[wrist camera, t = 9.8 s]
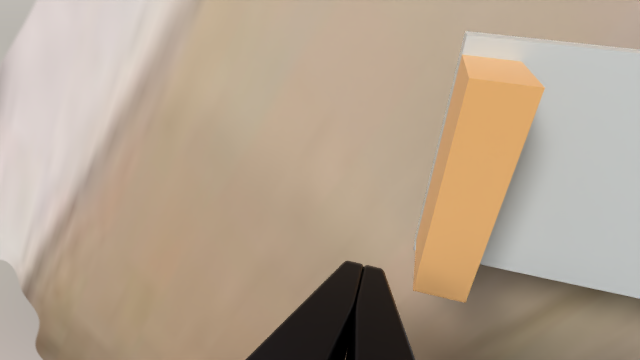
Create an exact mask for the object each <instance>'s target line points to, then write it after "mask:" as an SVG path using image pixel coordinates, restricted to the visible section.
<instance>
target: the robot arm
mask: <svg viewBox="0 0 640 360" xmlns="http://www.w3.org/2000/svg"><path fill="white" fill-rule="evenodd" d="M363 268H364V269H363ZM347 348H348V349H347ZM346 353H347V354H346ZM345 357H346V360H415V358H414V355H413V352H412V349H411V346H410V344H409V341H408V338H407V335H406V332H405V330H404V327H403V324H402V321H401V318H400V315H399V313H398V310H397V307H396V304H395V301H394V298H393V296H392V293H391V290H390V287H389V284H388V281H387V279H386V276H385V273H384V271H383V270H382V269H381V268H377V267H373V266H369V265H366V266H365V267H363V265H362V264H360V263H356V262H351V261H345V262H344V263H343V264H342V265H341V266H340V267H339V268H338V269H337V270H336V271H335V272H334V273H333V274H332V275H331V276H330V277H329V278H328V279H327V280H326V281H325V282H323V283H322V284H321V285H320V286H319V287H318V288H317V289H316V290H315V291H314V292H313V293H312V294H311V295H310V296H309V297H308V298H307V299H306V300H305V301H304V302H303V303H302V304H301V305H300V306H299V307H298V308H297V309H296V310H295V311H294V312H293V313H292V314H291V315H290V316H289V317H288V318H287V319H286V320H285V321H284V322H283V323H282V324H281V325H280V326H279V327H278V328H277V329H276V330H275V331H274V332H273V333H272V334H271V335H270V336H269V337H268V338H267V339H266V340H265V341H264V342H263V343H262V344H261V345H260V346H259V347H258V348H257V349H256V350H255V351H254V352H253V353H252V354H251V355H250V356H249V357H248V358H247V359H246V360H345Z"/></svg>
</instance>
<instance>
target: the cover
mask: <svg viewBox="0 0 640 360" xmlns="http://www.w3.org/2000/svg"><path fill="white" fill-rule="evenodd" d="M414 250H415V251H416V253H415V268H414V283H413V291H417V292H422V293H426V294H430V295H434V296H439V297H443V298H447V299H452V300H456V301H460V302H464V303H466V300H467V297H468V294H469V292H470V289H471V286H472V284H473V281H474V278H475V276H476V273H477V270H478V267H479V265H480V264H481V265H485V266H490V267H495V268H499V269H504V270H509V271H513V272H518V273H523V274H527V275H532V276H537V277H541V278H546V279H551V280H555V281H560V282H565V283H569V284H574V285H579V286H583V287H588V288H592V289H597V290H602V291H606V292H611V293H616V294H620V295H625V296H630V297H634V298H639V299H640V49H630V48H621V47H611V46H602V45H592V44H583V43H574V42H564V41H555V40H545V39H536V38H527V37H517V36H508V35H498V34H489V33H479V32H470V31H465V34H464V38H463V42H462V46H461V50H460V54H459V58H458V63H457V67H456V71H455V75H454V79H453V83H452V87H451V91H450V95H449V100H448V104H447V108H446V112H445V116H444V120H443V124H442V128H441V132H440V136H439V141H438V145H437V149H436V153H435V157H434V161H433V165H432V169H431V173H430V178H429V182H428V186H427V190H426V194H425V198H424V202H423V206H422V210H421V214H420V219H419V223H418V227H417V231H416V235H415V240H414Z"/></svg>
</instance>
